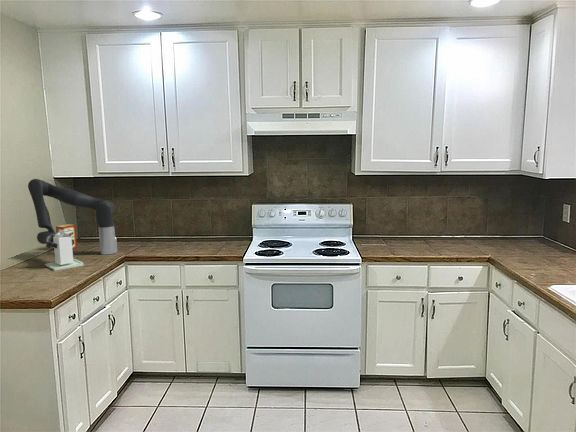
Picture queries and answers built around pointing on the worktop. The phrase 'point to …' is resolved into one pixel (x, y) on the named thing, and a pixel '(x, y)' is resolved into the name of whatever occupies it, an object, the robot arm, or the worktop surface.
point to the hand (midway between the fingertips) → (64, 245)
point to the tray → (64, 265)
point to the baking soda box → (68, 232)
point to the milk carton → (63, 248)
